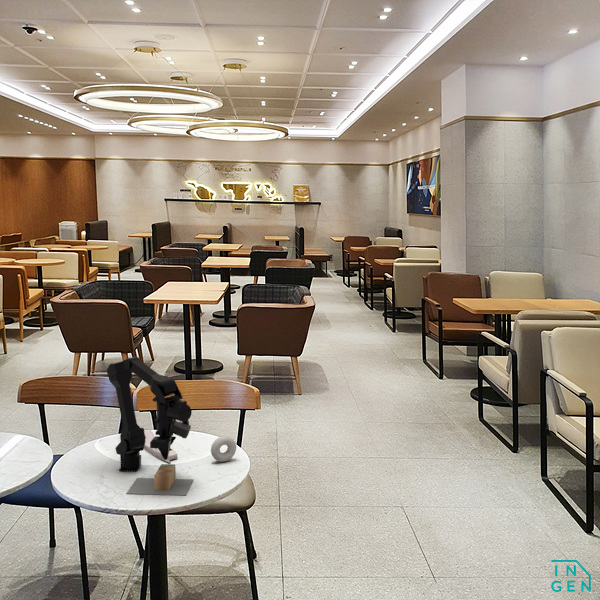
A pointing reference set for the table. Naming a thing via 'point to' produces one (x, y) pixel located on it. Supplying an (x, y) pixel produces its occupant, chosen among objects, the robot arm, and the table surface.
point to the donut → (217, 445)
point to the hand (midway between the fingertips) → (165, 459)
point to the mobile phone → (155, 451)
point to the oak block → (164, 477)
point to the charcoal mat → (147, 488)
